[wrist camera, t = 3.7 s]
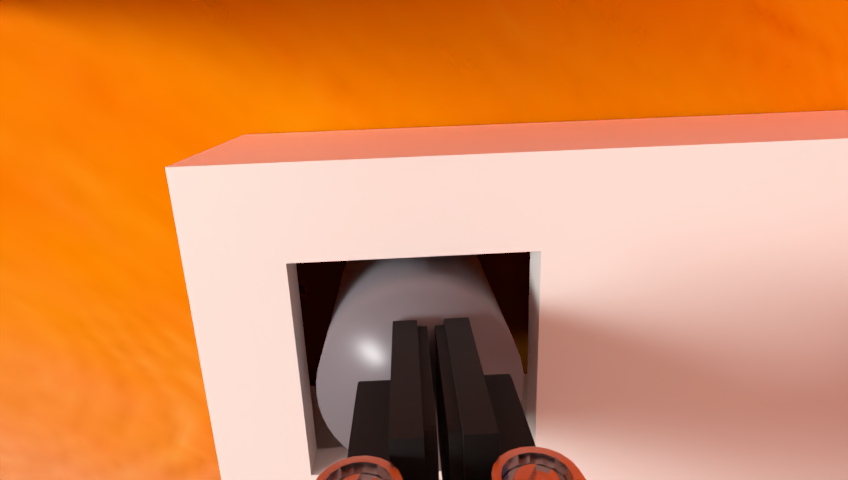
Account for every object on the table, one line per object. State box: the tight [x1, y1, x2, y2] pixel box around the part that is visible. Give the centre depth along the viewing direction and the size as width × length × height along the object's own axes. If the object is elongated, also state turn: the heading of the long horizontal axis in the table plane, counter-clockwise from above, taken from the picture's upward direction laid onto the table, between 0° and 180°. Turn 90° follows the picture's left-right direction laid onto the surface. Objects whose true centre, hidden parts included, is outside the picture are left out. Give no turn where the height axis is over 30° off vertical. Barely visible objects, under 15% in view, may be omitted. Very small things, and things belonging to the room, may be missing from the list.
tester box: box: [165, 110, 848, 480], centre depth 16 cm, size 10×24×6 cm, turn 92°
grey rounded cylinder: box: [316, 254, 524, 471], centre depth 15 cm, size 5×5×6 cm
